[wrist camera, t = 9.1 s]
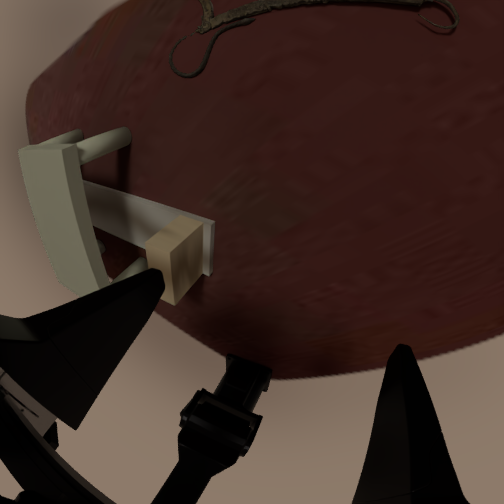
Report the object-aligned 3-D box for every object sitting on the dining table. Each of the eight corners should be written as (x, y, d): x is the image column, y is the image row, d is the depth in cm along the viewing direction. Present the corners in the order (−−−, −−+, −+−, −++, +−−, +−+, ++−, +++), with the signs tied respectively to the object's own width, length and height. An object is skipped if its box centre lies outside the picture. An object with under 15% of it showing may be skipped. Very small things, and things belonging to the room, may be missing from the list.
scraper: (213, 270, 28) (181, 309, 23) (86, 216, 33) (54, 238, 28) (216, 219, 24) (177, 256, 20) (78, 177, 29) (43, 196, 25)
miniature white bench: (153, 274, 32) (110, 316, 26) (98, 250, 35) (59, 282, 29) (132, 124, 22) (61, 149, 16) (73, 127, 25) (17, 150, 19)
